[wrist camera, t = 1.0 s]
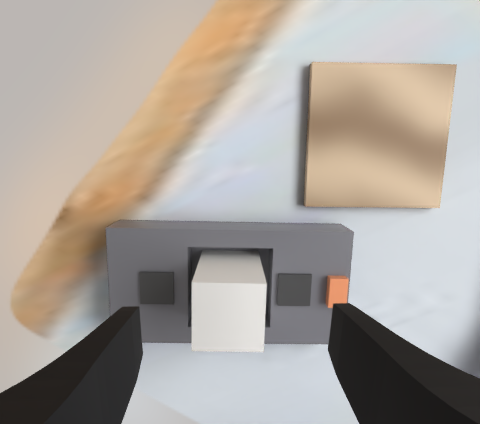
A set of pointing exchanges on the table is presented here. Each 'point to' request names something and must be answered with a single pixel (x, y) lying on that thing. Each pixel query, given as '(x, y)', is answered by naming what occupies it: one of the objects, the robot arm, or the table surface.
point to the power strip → (229, 239)
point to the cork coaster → (377, 134)
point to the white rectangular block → (228, 302)
